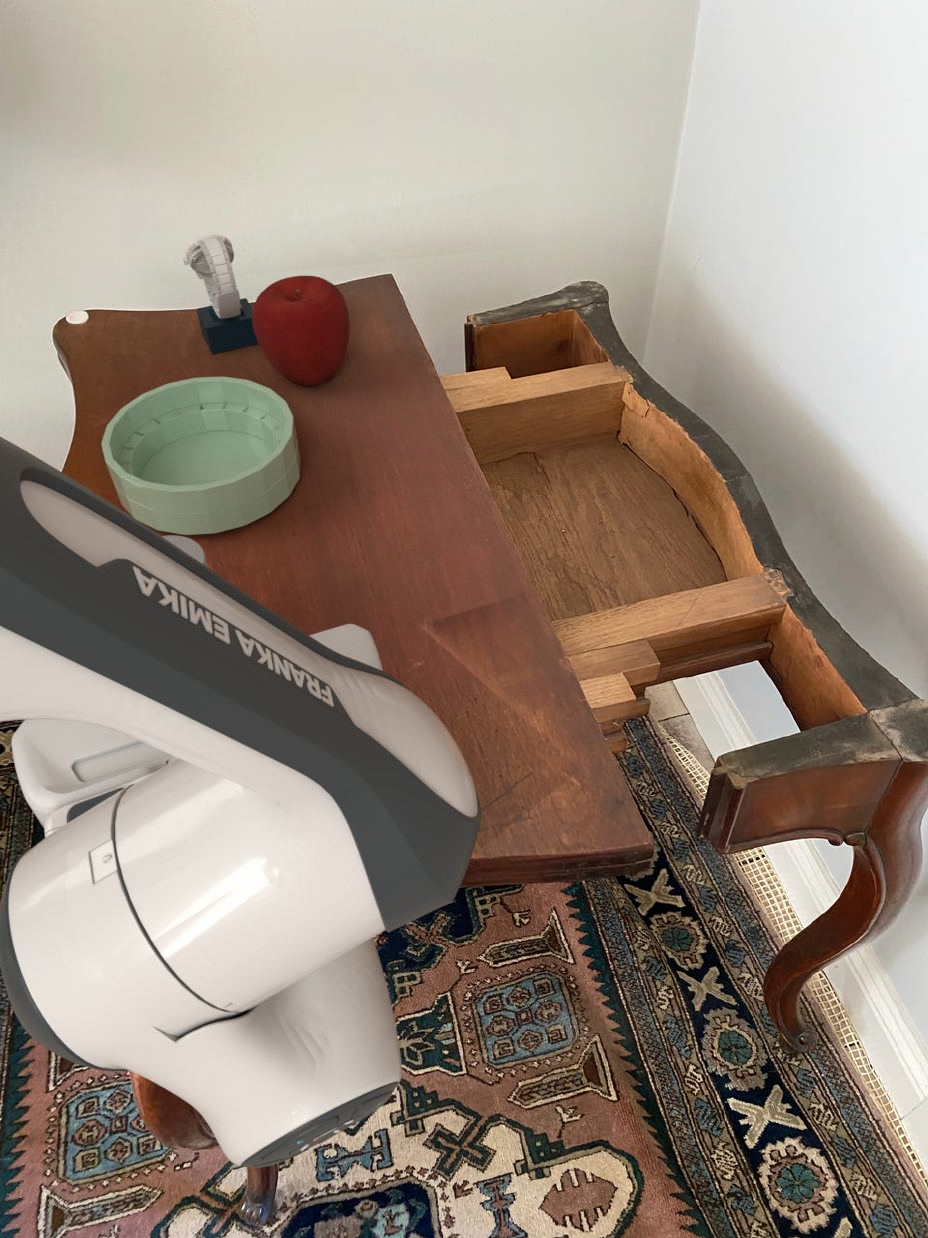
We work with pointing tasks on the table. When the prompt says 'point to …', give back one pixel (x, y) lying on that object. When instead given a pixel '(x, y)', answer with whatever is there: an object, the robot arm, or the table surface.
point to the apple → (302, 328)
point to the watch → (220, 295)
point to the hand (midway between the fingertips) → (186, 628)
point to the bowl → (203, 455)
